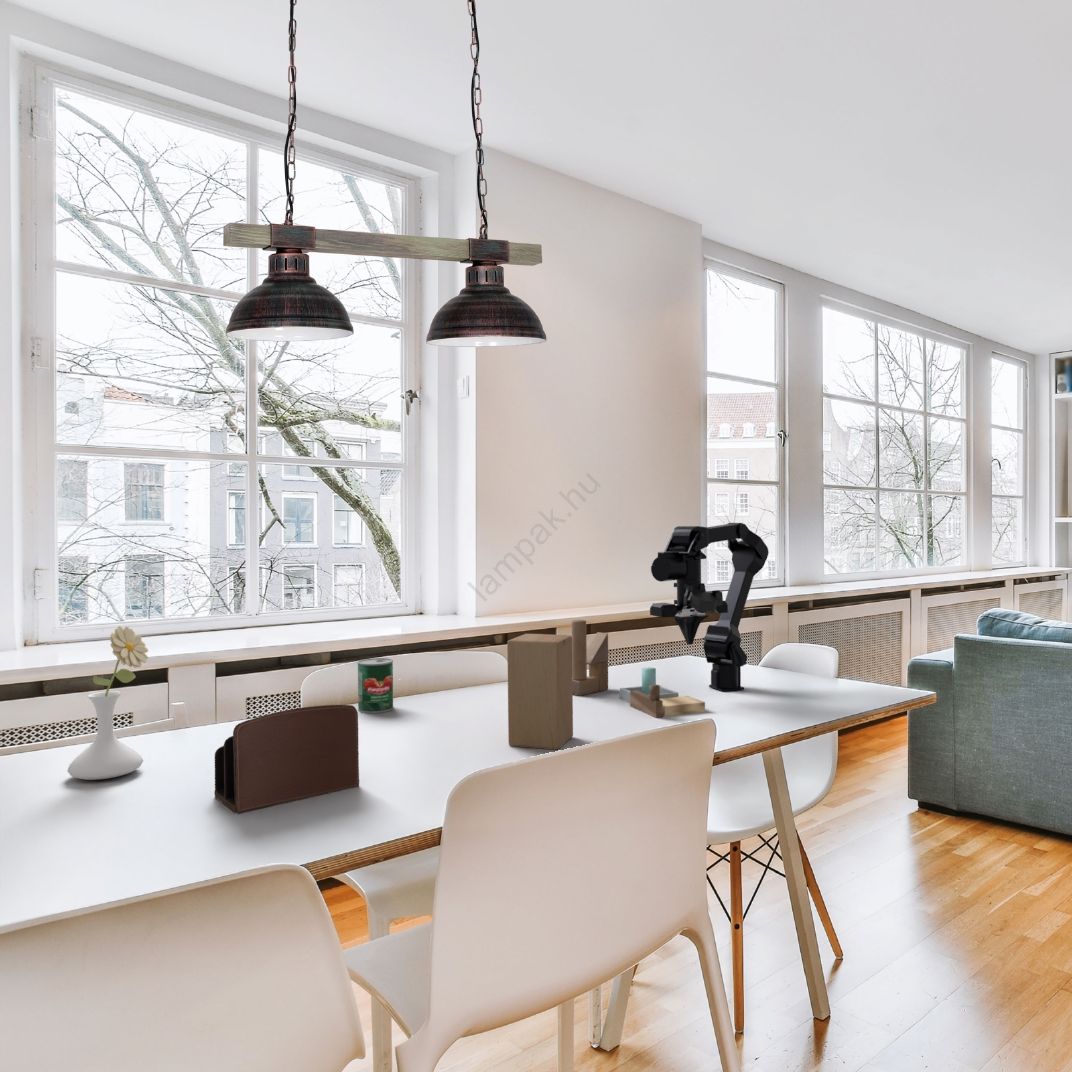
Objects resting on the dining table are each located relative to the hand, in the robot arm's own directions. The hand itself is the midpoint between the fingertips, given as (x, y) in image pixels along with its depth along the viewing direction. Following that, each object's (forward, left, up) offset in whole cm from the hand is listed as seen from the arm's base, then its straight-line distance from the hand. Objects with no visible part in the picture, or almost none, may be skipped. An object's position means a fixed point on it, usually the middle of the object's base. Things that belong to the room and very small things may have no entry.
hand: (689, 644), depth 195 cm
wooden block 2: (+20, -15, -13) cm, 28 cm away
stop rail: (+17, +9, -13) cm, 23 cm away
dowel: (+11, 0, -12) cm, 16 cm away
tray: (+11, 0, -13) cm, 17 cm away
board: (+10, +11, -13) cm, 19 cm away
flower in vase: (+122, +14, -13) cm, 123 cm away
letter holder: (+94, +35, -13) cm, 101 cm away
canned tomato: (+72, -17, -13) cm, 75 cm away
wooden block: (+47, +23, -13) cm, 54 cm away
